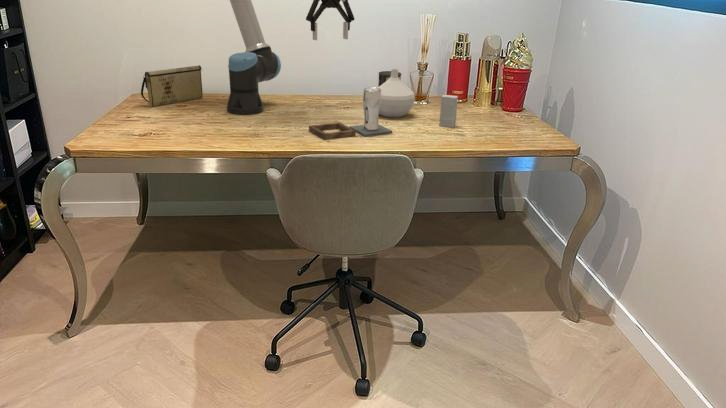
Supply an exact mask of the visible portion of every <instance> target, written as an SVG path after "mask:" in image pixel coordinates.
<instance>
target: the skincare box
mask: <svg viewBox="0 0 726 408" xmlns="http://www.w3.org/2000/svg"><path fill="white" fill-rule="evenodd" d="M458 100H459V95H452V94H443V95H442V96H441V100H440V112H439V127H445V128H454V127H455V126H456V124H457V111H458Z"/></svg>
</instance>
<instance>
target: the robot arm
mask: <svg viewBox="0 0 726 408" xmlns="http://www.w3.org/2000/svg"><path fill="white" fill-rule="evenodd" d="M320 1H321V3H320V5H319V2H320ZM229 2H230V5H231V8H232V11H233V15H234V17H235V20H236V23H237V26H238V28H239V31H240V35H241V38H242V40H243V41H242V42H243V43H244V46H245V51H243V52H237V53H233V54H231V55H230V56H228V57H229V58H228V65H227V66H228V76H229V77H228V79H229V89H230V90H229V91H230V92H229V97H228V101H227V103H226V104H227V105H226V111H227V112H228V113H231V114H234V115H255V114H259V113H260V114H261V113H262V112H264V103H263V101H262V98H261V95H260V92H259V83H262V82H268V81H271V80H273V79H275V78H276V77H277V76H278V75H279V74H280V72H281V70H282V69H281V68H282V63H281V59H280V57H279V56H278V55H277V53H275V52H274V51H272V47H271V45H269V44H267V42H266V41H265V38H264V35H263V32H262V29H261V26H260V22H259V20H258V17H257V13H256V11H255V8H254V4H253V1H252V0H229ZM340 2H342V4H343V6H342V5H341V3H340ZM318 5H319V7H318ZM317 7H318V8H317ZM343 7H344V9H345V10H344V9H343ZM331 8H332V9H336V10H337V11H338V13H339V14H340V15H341V17H342V18H343V20H344V21H343V22H342V23H343V24H342V25H343V26H342V29H343V30H342V39H343V40H348V39H349V31H350V30H351V29H350V28H351V23H352V22H353V21H355V16H354V13H353V11H352V9H351V5H350V3H349V0H313V2H312V4H311V6H310V8H309V10H308V12H307V15H306V18H305V20H306V21H307V22H310V31H311V32H312V40H314V41H318V22H317V20H318V19H319V18H320V16H321V15H322V14H323V12H324V11H325V9H331Z"/></svg>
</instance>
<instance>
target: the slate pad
mask: <svg viewBox="0 0 726 408" xmlns="http://www.w3.org/2000/svg"><path fill="white" fill-rule="evenodd" d="M378 125H379V129H378V130H374V131H369V130H365V129H363V124H358V125H351V126H348V127H349V128H351V129H353V130H355V131H356V134H359V135H360V136H362V137H364V138H367V137H375V136H383V135H391V134H393V130H391V129H389V128H387V127H385V126H383V125H380V124H379V123H378Z"/></svg>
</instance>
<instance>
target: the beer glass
mask: <svg viewBox="0 0 726 408" xmlns="http://www.w3.org/2000/svg"><path fill="white" fill-rule="evenodd" d="M380 108H381V89H379V88H378V87H364V88H363V94H362V110H363V116H364V118H363V124H362V125H363V129H365V130H369V131H374V130H378V129H379V125H380V124H379V115H380V114H379V112H380ZM378 124H379V125H378Z"/></svg>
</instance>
